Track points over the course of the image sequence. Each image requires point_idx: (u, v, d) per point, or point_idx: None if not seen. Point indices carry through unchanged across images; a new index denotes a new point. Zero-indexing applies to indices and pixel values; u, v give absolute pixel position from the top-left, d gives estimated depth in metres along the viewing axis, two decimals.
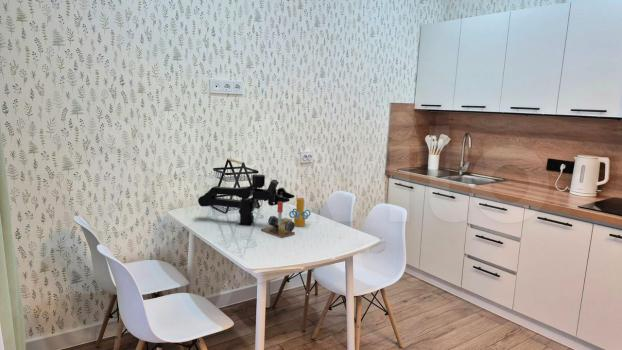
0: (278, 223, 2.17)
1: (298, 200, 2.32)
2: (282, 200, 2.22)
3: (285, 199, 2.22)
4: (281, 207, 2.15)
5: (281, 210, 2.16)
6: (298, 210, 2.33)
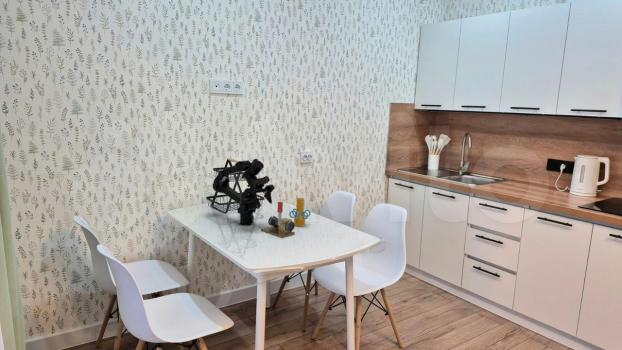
0: (278, 223, 2.17)
1: (298, 200, 2.32)
2: (255, 201, 2.21)
3: (257, 202, 2.20)
4: (281, 207, 2.15)
5: (281, 210, 2.16)
6: (298, 210, 2.33)
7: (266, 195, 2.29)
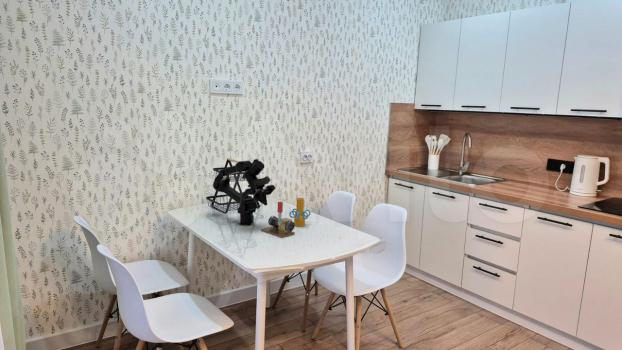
0: (278, 223, 2.17)
1: (298, 200, 2.32)
2: (261, 200, 2.23)
3: (263, 201, 2.23)
4: (281, 207, 2.15)
5: (281, 210, 2.16)
6: (298, 210, 2.33)
7: None
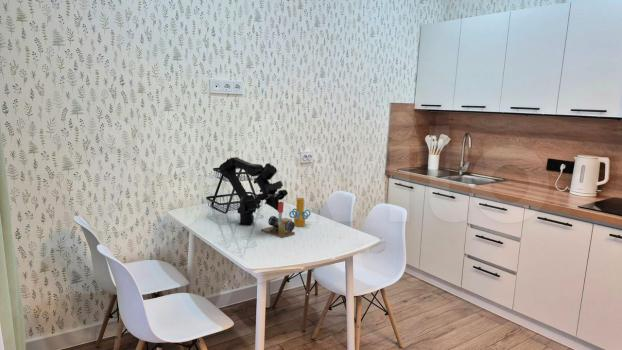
0: (278, 223, 2.17)
1: (298, 200, 2.32)
2: (273, 205, 2.17)
3: (276, 207, 2.17)
4: (282, 207, 2.15)
5: (281, 210, 2.15)
6: (298, 210, 2.33)
7: None
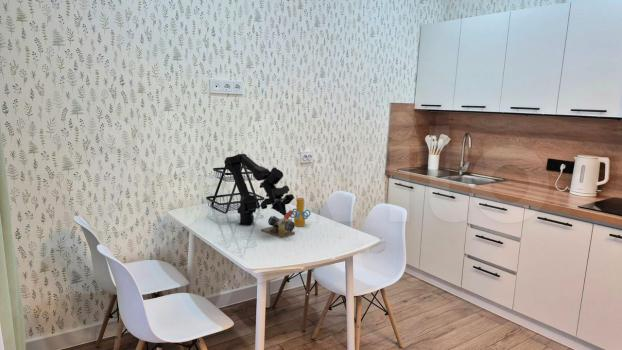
0: (278, 223, 2.17)
1: (298, 200, 2.32)
2: (280, 210, 2.14)
3: (282, 212, 2.14)
4: (289, 216, 2.12)
5: (287, 217, 2.13)
6: (298, 210, 2.33)
7: None
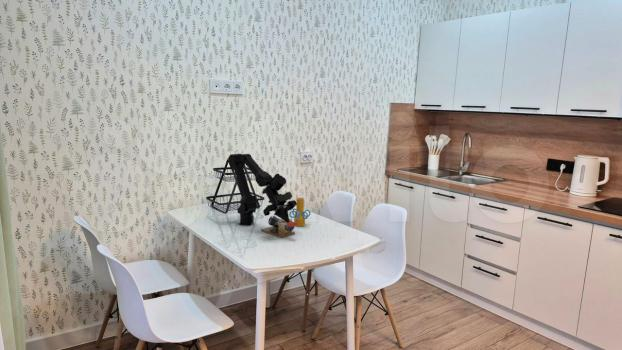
0: (278, 223, 2.17)
1: (298, 200, 2.32)
2: (282, 217, 2.13)
3: (285, 218, 2.13)
4: (291, 225, 2.12)
5: (289, 225, 2.13)
6: (298, 210, 2.33)
7: None
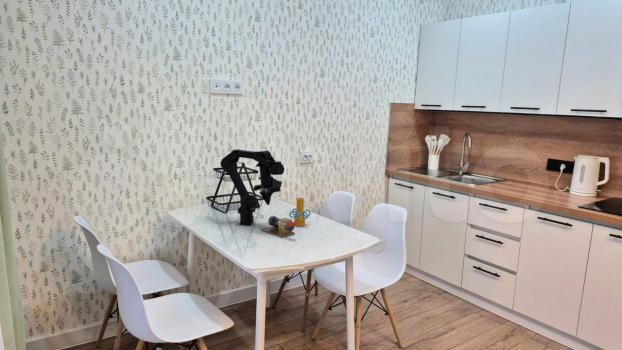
0: (278, 223, 2.17)
1: (298, 200, 2.32)
2: (268, 198, 2.24)
3: (269, 201, 2.25)
4: (291, 225, 2.12)
5: (289, 225, 2.13)
6: (298, 210, 2.33)
7: None
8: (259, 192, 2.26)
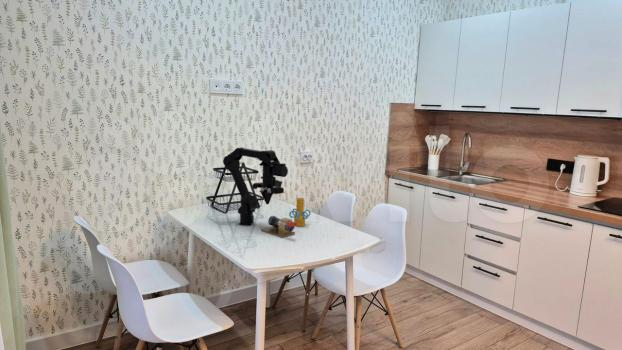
0: (278, 223, 2.17)
1: (298, 200, 2.32)
2: (268, 198, 2.25)
3: (269, 200, 2.26)
4: (291, 225, 2.12)
5: (289, 225, 2.13)
6: (298, 210, 2.33)
7: None
8: (259, 191, 2.25)
